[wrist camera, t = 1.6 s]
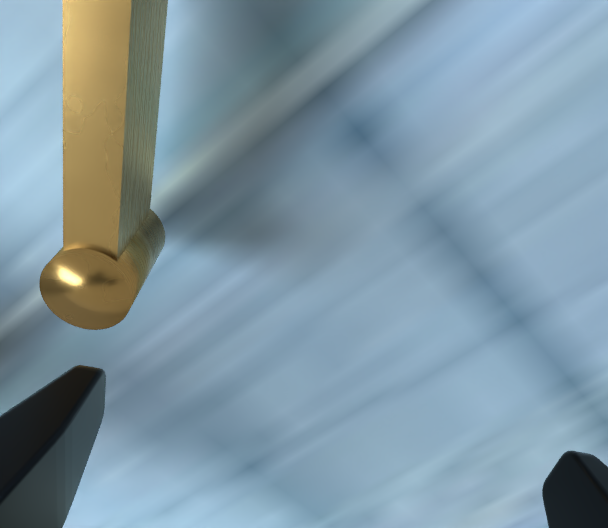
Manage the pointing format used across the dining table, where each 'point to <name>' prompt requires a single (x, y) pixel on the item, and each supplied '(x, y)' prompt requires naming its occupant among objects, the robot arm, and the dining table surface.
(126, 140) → the gold bone
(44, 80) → the dining table surface
